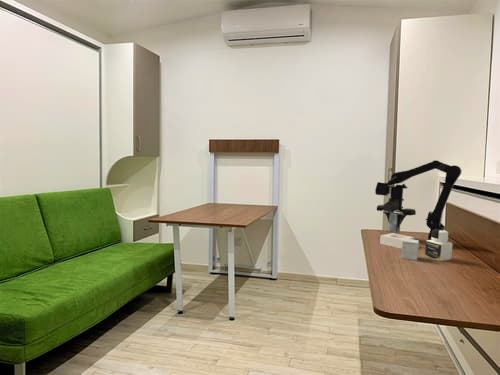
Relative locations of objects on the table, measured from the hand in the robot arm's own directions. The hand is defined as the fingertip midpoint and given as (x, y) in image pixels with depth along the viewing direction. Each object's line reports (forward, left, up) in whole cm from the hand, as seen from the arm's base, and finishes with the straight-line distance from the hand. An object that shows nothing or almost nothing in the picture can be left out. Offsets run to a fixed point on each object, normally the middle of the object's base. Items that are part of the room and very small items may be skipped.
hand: (394, 226), depth 182 cm
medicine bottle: (-31, +20, -6) cm, 37 cm away
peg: (0, 0, -3) cm, 3 cm away
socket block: (-9, +13, -6) cm, 17 cm away
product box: (-24, +30, -6) cm, 39 cm away
